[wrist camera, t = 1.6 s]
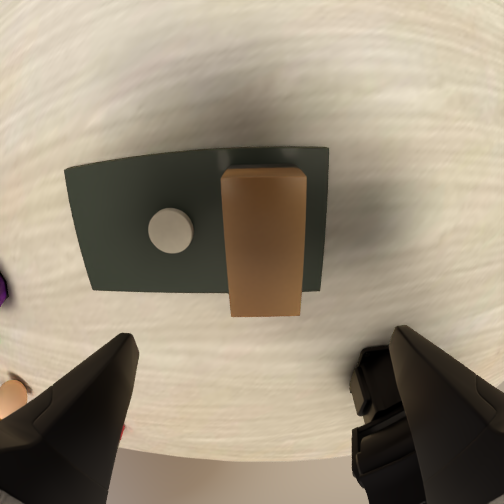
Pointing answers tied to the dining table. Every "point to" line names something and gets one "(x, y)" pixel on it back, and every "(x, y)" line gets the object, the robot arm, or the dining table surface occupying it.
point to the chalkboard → (188, 201)
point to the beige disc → (171, 230)
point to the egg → (12, 397)
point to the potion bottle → (3, 289)
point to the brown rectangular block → (264, 238)
